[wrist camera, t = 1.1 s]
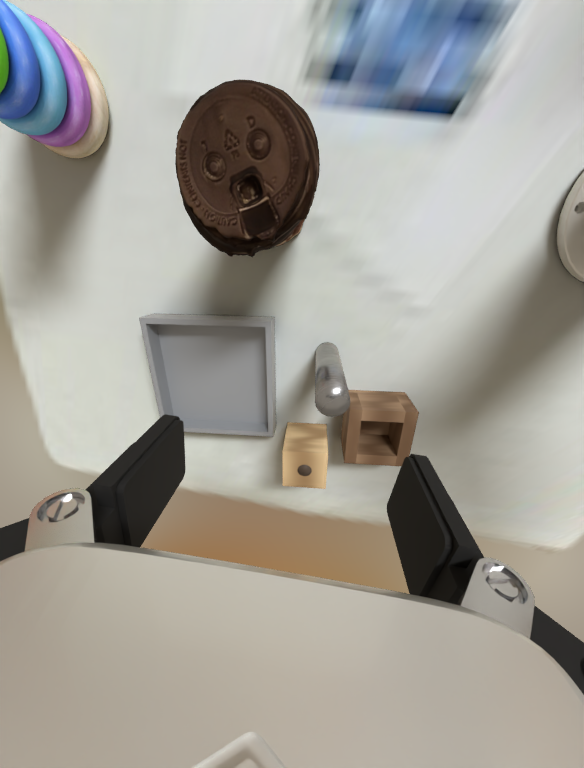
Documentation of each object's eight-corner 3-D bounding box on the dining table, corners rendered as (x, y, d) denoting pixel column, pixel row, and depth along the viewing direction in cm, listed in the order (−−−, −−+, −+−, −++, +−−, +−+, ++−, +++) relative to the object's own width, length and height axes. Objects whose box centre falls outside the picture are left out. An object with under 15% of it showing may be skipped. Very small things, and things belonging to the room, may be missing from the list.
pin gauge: (339, 342, 31) (352, 386, 20) (337, 364, 32) (348, 417, 21) (316, 341, 31) (316, 384, 20) (315, 363, 32) (314, 415, 21)
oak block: (326, 424, 35) (328, 454, 30) (324, 455, 37) (325, 488, 32) (287, 422, 36) (282, 451, 30) (287, 453, 38) (282, 486, 32)
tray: (274, 316, 30) (271, 321, 28) (276, 425, 36) (273, 436, 34) (152, 313, 31) (139, 317, 29) (172, 419, 37) (162, 430, 35)
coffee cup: (298, 272, 28) (286, 279, 16) (221, 243, 28) (151, 229, 16) (330, 173, 25) (344, 92, 13) (242, 138, 24) (172, 20, 12)
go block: (404, 391, 33) (418, 412, 28) (395, 440, 36) (406, 466, 31) (345, 389, 33) (350, 409, 29) (340, 437, 36) (344, 462, 32)
